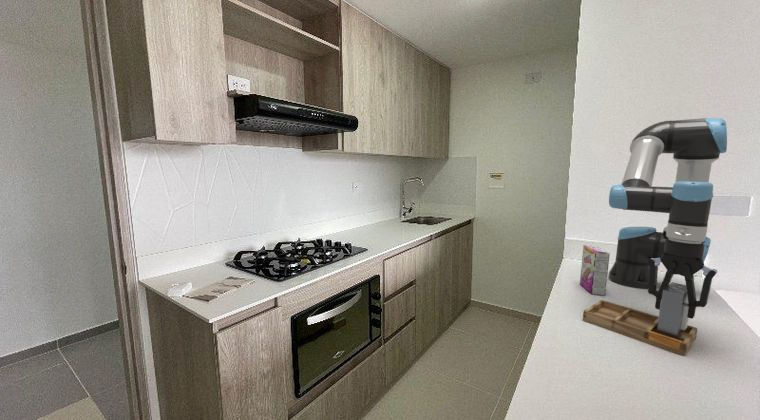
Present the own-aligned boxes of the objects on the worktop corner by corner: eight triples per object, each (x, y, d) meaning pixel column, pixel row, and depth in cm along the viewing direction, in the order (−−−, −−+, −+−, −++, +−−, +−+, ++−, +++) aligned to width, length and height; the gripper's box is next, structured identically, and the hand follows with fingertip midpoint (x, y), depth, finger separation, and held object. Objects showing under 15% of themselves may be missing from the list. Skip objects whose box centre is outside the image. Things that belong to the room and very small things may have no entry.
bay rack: (600, 308, 107) (601, 299, 106) (695, 338, 88) (697, 326, 88) (582, 320, 98) (583, 310, 97) (684, 356, 79) (686, 344, 79)
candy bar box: (578, 284, 129) (582, 244, 127) (592, 285, 128) (596, 245, 126) (590, 294, 118) (595, 251, 116) (605, 296, 117) (610, 252, 115)
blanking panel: (666, 322, 91) (672, 282, 90) (685, 328, 88) (691, 286, 87) (656, 332, 85) (662, 289, 84) (676, 339, 82) (683, 294, 81)
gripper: (639, 236, 88) (629, 316, 91) (730, 249, 75) (714, 343, 78) (647, 233, 93) (637, 309, 96) (734, 245, 79) (719, 333, 82)
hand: (672, 324), depth 87 cm, fingers closed on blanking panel, 4 cm apart
